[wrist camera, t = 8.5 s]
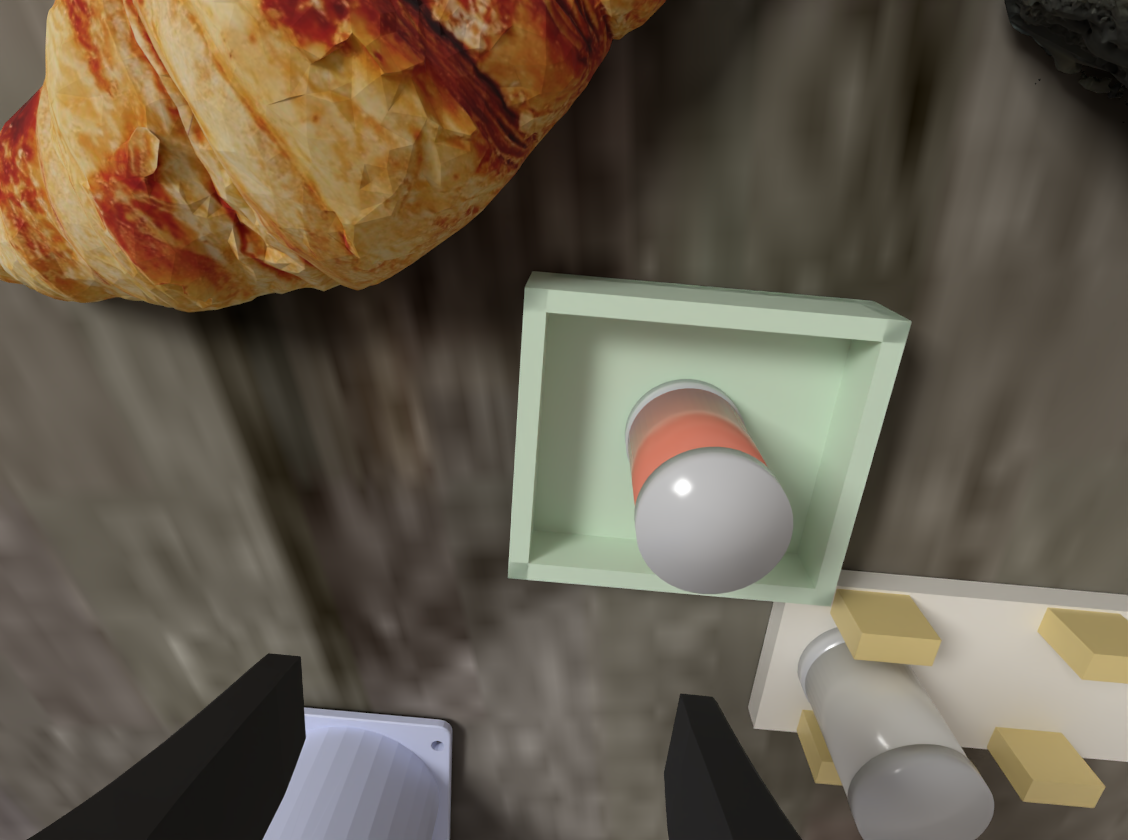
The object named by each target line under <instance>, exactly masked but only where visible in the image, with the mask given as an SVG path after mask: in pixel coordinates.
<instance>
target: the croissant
mask: <svg viewBox="0 0 1128 840" xmlns="http://www.w3.org/2000/svg"><path fill="white" fill-rule="evenodd" d="M665 1H666V0H55V2H54V5H53V7H52V8H51V9H50V10H49V13H48V17H47V29H46V77H45V80H44V83H43V86H42V87H41V88H40V89H39V90H38V91H37V92H36V93H35V94H34V95H33V96H32V97H31V98H30V99H29V100H28V101H27V102H26V103H25V104H24V105H23V106H22V107H21V108H20V109H19V110H18V111H17V112H16V113H15V114H14V115H13V116H12V117H11V118H10V119H9V120H8V121H7V122H6V123H5V125H4V126H3V128H2V130H1V132H0V280H3V281H6V282H9V283H17V284H24V285H26V286H27V287H28V288H30V289H34V290H36V291H38V292H39V293H41V294H44V295H46V296H49V297H52V298H54V299H58V300H63V301H75V302H80V303H86V302H99V301H102V300H106V299H110V298H114V297H121V298H124V299H128V300H134V301H145V302H148V303H151V304H155V305H162V306H165V307H173V308H175V309H176V310H181V311H185V312H197V311H206V310H218V309H221V308H225V307H229V306H233V305H237V304H242V303H245V302H249V301H252V300H253V299H255V298H256V297H258V296H262V295H266V294H270V293H274V292H275V293H279V294H284V293H287V292H290V291H293V290H296V289H300V288H306V287H307V288H315V289H318V290H321V291H326V290H328V289H331V288H333V287H336V286H338V285H343V286H346V287H349V288H351V289H354V290H361V289H365V288H366V287H368V286H372V285H377V284H379V283H380V282H382V281H384V280H386V279H388V278H390V277H392V276H393V275H395V274H397V273H398V272H400V271H401V270H403V269H404V268H406V267H408V266H409V265H411V264H412V263H414V262H415V261H416V260H418V259H419V258H421V257H422V256H423V255H425V254H426V253H428V252H429V251H430V250H432V249H433V248H435V247H436V246H437V245H439V244H440V243H442V242H443V241H445V240H446V239H447V238H449V237H450V236H452V235H453V234H454V233H456V232H457V231H458V230H460V229H461V228H463V227H464V226H465V225H467V224H468V223H469V222H470V221H471V220H472V219H473V218H475V217H476V216H477V215H478V214H479V213H480V212H482V211H483V210H484V208H485V207H486V206H487V205H488V204H489V203H490V202H491V201H492V199H493V198H494V197H495V196H496V195H497V194H498V193H499V192H500V190H501V189H502V188H503V187H504V186H505V185H506V184H507V183H508V182H509V181H510V180H511V179H512V177H513V176H514V175H515V174H516V173H517V171H518V170H519V168H520V167H521V165H522V164H523V162H524V161H525V159H526V158H527V156H528V155H529V154H530V153H531V152H532V150H533V149H534V148H535V147H536V146H537V145H538V143H539V142H540V141H541V140H542V139H543V138H544V136H545V135H546V134H547V133H548V132H549V131H550V129H551V128H552V127H553V126H554V124H555V123H556V122H557V121H558V120H559V119H560V118H561V117H562V116H563V115H564V114H565V113H566V112H567V111H568V110H569V108H570V107H571V105H572V104H573V102H574V101H575V100H576V99H577V97H578V96H579V95H580V94H581V93H582V92H583V91H584V89H585V88H586V87H587V85H588V83H589V81H590V80H591V78H592V76H593V74H594V73H595V71H596V69H597V68H598V67H599V65H600V64H601V63H602V61H603V59H604V58H605V56H606V54H607V53H608V51H609V50H610V46H611V43H612V39H617V40H620V39H621V38H622V37H623V36H625V35H626V34H627V33H628V32H630V31H632V30H634V29H636V28H638V27H640V26H642V25H643V24H644V23H645V22H646V21H647V20H648V19H649V18H650V17H651V16H652V15H653V14H654V13H655V12H656V11H657V10H658V9H659V8H660V7H661V6H662V5H663V4H664V3H665Z"/></svg>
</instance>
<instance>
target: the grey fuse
mask: <svg viewBox="0 0 1128 840" xmlns="http://www.w3.org/2000/svg"><path fill="white" fill-rule="evenodd" d="M797 672H798V678H799V681H800V683H801V686H802V689H803V691H804V694H805V696H806V698H807V700H808V702H809V703H810V705H811V707H812V710H813V712H814V715H815V717H816V720H817V722H818V725H819V727H820V730H821V732H822V735H823V737H824V740H825V742H826V745H827V747H828V750H829V753H830V755H831V758H832V760H833V763H834V765H835V768H836V770H837V773H838V775H839V778H840V780H841V783H842V785H843V788H844V790H845V793H846V795H847V798H848V804H849V807H850V810H851V813H852V815H853V818H854V820H855V823H856V825H857V828H858V830H859V833H860V834H861V836H862V838H863V839H864V840H975V839H976V838H978V837H979V836H980V835H981V834H982V833H983V832H984V830H985V829H986V828H987V826H988V825H989V823H990V821H991V819H992V816H993V813H994V799H993V795H992V793H991V791H990V789H989V788H988V786H987V784H986V783H985V781H984V780H983V778H982V776H981V775H980V773H979V772H978V770H977V768H976V767H975V766H974V764H973V763H972V762H971V761H970V760H969V759H968V758H967V756H966V754H965V753H964V751H963V749H962V748H961V746H960V745H959V743H958V741H957V740H956V738H955V737H954V735H953V733H952V732H951V730H950V729H949V727H948V725H947V724H946V722H945V721H944V719H943V717H942V716H941V714H940V712H939V711H938V709H937V708H936V706H935V704H934V703H933V701H932V700H931V698H930V696H929V695H928V693H927V692H926V690H925V688H924V687H923V685H922V684H921V682H920V680H919V679H918V677H917V675H916V674H915V672H914V671H913V669H912V667H911V664H900V663H889V662H877V661H866V660H855V659H854V658H853V657H852V655H851V653H850V651H849V649H848V647H847V645H846V643H845V641H844V639H843V637H842V635H841V633H840V631H839V630H838V628H837V627H836V628H833V629H831V630H828V631H826V632H824V633H822V634H821V635H819V636H818V637H816V638H815V639H814V640H812V641H811V642H810V643H809V644H808V645H807V647H806V648H805V649H804V651H803V652H802V654H801V656H800V659H799V662H798V670H797Z"/></svg>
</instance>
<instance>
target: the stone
mask: <svg viewBox="0 0 1128 840" xmlns="http://www.w3.org/2000/svg"><path fill="white" fill-rule="evenodd" d="M1005 4H1006V8H1007V13H1008V17H1009V20H1010V23H1011V25H1012V26H1013V27H1014V28H1015V29H1016V30H1018V31H1019V32H1020V33H1022V34H1026V35H1030V36H1032V38H1033V39H1034V40H1035V41H1036V42H1037V43H1038V44H1039V45H1040V46H1041V47H1042V48H1043V49H1044V50H1045V52H1046V53H1047V54H1048V55H1050V56H1053V57H1054V62H1055V66H1056V68H1057V70H1058V71H1061V72H1064V73H1067V74H1075V73H1078V72H1079V71H1082V70H1081V69H1082V64H1083V65H1086V66H1090V67H1094V68H1097V69H1101V70H1104V71H1108V72H1110V73H1111V74H1112V75H1113V76H1115V77H1116V78H1115V79H1117V80H1118V81H1119V82H1121V83H1117V84H1115V85H1114V86H1113V87H1112V88H1110V86H1109V85H1108V84H1109V82H1110V81H1111V78H1110V79H1108V78H1103V79H1102V78H1100V79H1097V78H1096V76H1094V77H1092V76H1090V77H1088V78H1087V76H1086V75H1085V74H1082V75H1081V77H1083V78H1082V79H1081V80H1079V83H1080V84H1081V85H1082V86H1083V87H1084V88H1085V89H1086V90H1090V91H1094V92H1097V93H1106V92H1109V91H1110V92H1109V93H1108V97H1109V98H1116V97H1117V98H1119V97H1123V96H1122V93H1118V94H1117V92H1118V91H1119V90H1120V91H1123V90H1124V89H1125V86H1126V87H1127V88H1128V0H1005ZM1083 72H1084V71H1083ZM1083 72H1082V73H1083ZM1039 81H1040V79H1039ZM1035 84H1036V83H1035ZM1121 84H1123V86H1122V87H1121ZM1127 94H1128V93H1127ZM1119 99H1120V98H1119ZM1125 102H1126V100H1125ZM1126 105H1127V106H1128V103H1126ZM1123 123H1124V122H1123Z"/></svg>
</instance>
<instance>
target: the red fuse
mask: <svg viewBox="0 0 1128 840" xmlns="http://www.w3.org/2000/svg"><path fill="white" fill-rule="evenodd" d="M625 443H626V452H627V456H628V460H629V463H630V471H631V479H632V487H633V496H634V504H635V510H634V521H635V529H636V538H637V544H638V547H639V551H640V553H641V555H642V558H643V559H644V561H645V562H646V564H647V566H648V567H649V568H650V569H651V570H652V571H653V572H654V573H655V574H656V575H657V576H658V577H659V578H660V579H662V580H663V581H665V582H666V583H668V584H670V585H672V586H674V587H676V588H679V589H681V590H684V591H688V592H692V593H699V594H722V593H727V592H732V591H736V590H739V589H742V588H745V587H747V586H749V585H751V584H753V583H755V582H757V581H758V580H760V579H761V578H763V577H764V576H765V575H767V574H768V573H769V572H770V571H771V570H772V569H773V568H774V567H775V566H776V565H777V564H778V563H779V561H780V560H781V559H782V557H783V556H784V554H785V552H786V550H787V548H788V546H789V544H790V540H791V537H792V532H793V514H792V509H791V506H790V503H789V500H788V498H787V496H786V494H785V492H784V491H783V489H782V487H781V485H780V484H779V482H778V480H777V478H776V477H775V476H774V474H773V473H772V471H771V470H770V469H769V468H768V467H767V465H766V463H765V461H764V459H763V458H762V456H761V454H760V452H759V450H758V449H757V447H756V445H755V443H754V441H753V440H752V438H751V436H750V434H749V432H748V431H747V429H746V427H745V424H744V421H743V418H742V416H741V414H740V413H739V411H738V409H737V407H736V405H735V404H734V402H733V401H732V400H731V398H730V397H729V396H728V395H727V394H726V393H725V392H723V391H722V390H721V389H719V388H718V387H716V386H714V385H712V384H710V383H707V382H704V381H700V380H694V379H678V380H672V381H668V382H665V383H663V384H660V385H658V386H656V387H654V388H652V389H651V390H649V391H648V392H647V393H645V394H644V395H643V396H642V397H641V398H640V399H639V400H638V401H637V403H636V404H635V405H634V407H633V408H632V410H631V412H630V414H629V416H628V419H627V422H626V427H625Z"/></svg>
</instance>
